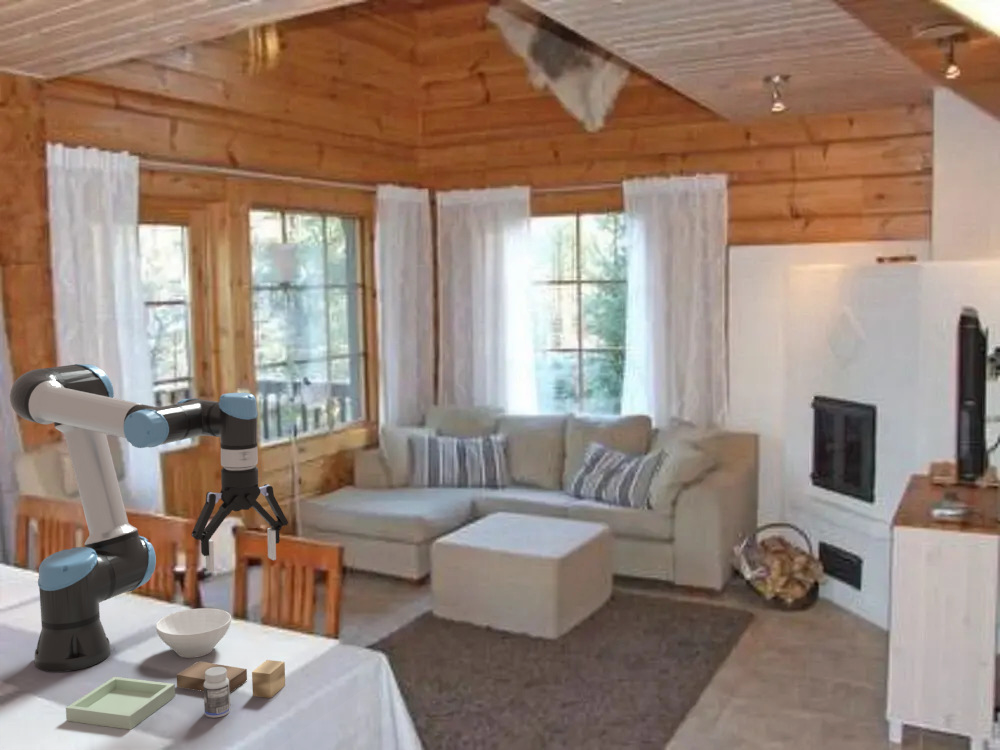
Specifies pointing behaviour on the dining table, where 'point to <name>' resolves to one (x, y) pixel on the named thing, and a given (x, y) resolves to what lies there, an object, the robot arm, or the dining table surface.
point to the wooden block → (268, 678)
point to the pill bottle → (216, 692)
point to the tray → (120, 702)
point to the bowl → (193, 630)
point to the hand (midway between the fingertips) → (241, 564)
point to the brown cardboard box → (196, 676)
